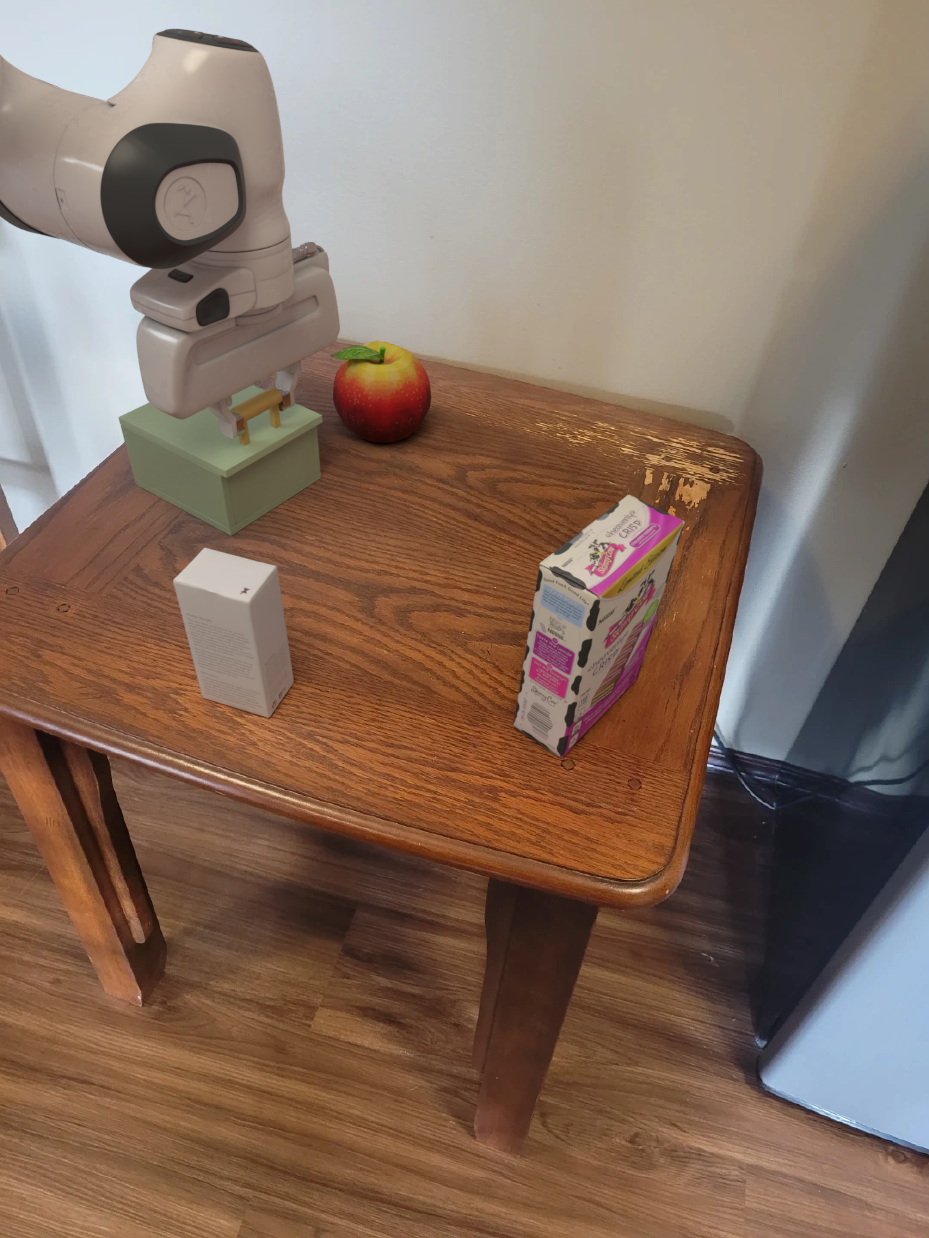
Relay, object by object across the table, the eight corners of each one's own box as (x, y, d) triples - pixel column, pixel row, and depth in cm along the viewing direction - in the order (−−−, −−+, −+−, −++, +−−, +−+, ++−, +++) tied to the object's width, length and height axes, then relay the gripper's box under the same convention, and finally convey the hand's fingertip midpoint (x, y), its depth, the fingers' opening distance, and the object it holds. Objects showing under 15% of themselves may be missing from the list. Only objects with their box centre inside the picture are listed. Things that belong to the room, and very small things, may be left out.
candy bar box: (564, 763, 63) (600, 598, 51) (510, 728, 65) (533, 562, 54) (642, 681, 69) (688, 518, 58) (591, 651, 71) (626, 489, 60)
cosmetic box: (295, 682, 67) (280, 565, 59) (269, 720, 64) (249, 603, 56) (228, 661, 69) (203, 544, 60) (199, 698, 66) (169, 580, 57)
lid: (322, 422, 83) (319, 379, 80) (226, 478, 75) (218, 433, 72) (219, 376, 89) (212, 334, 86) (119, 424, 81) (108, 380, 78)
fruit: (439, 451, 93) (442, 366, 86) (340, 459, 91) (335, 372, 84) (420, 402, 101) (421, 321, 94) (328, 409, 98) (323, 326, 92)
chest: (321, 478, 88) (316, 420, 83) (231, 536, 80) (220, 475, 76) (228, 434, 93) (219, 377, 89) (135, 484, 86) (120, 425, 81)
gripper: (298, 227, 77) (310, 369, 86) (110, 296, 64) (148, 454, 73) (352, 245, 74) (357, 389, 84) (167, 320, 62) (198, 480, 71)
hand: (258, 420), depth 78 cm, fingers closed on lid, 5 cm apart
